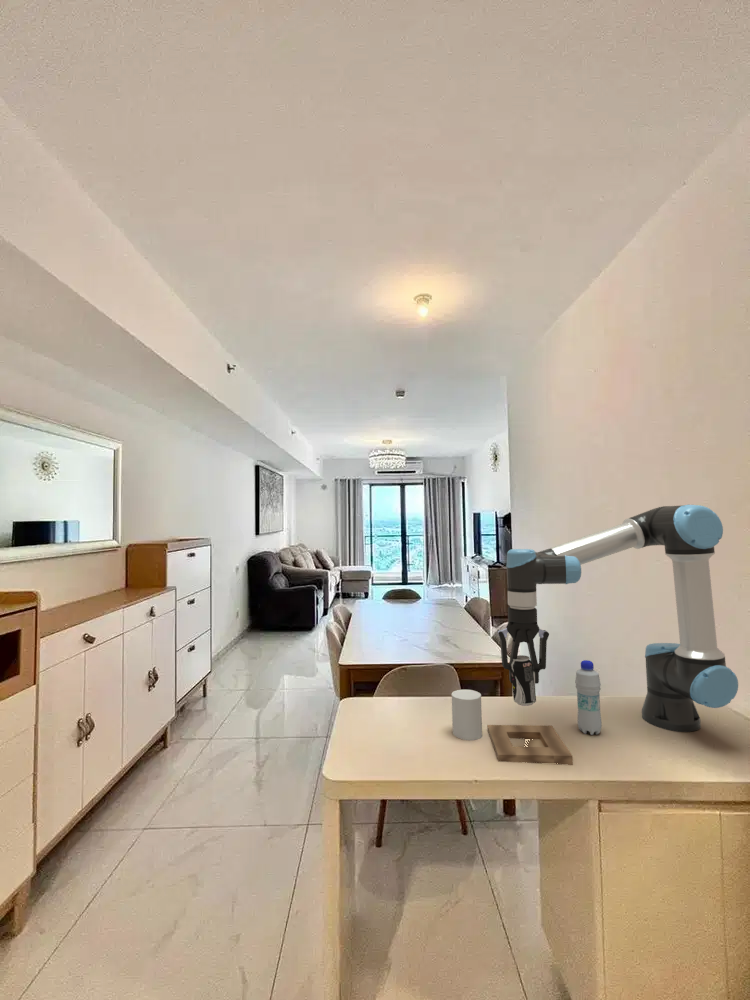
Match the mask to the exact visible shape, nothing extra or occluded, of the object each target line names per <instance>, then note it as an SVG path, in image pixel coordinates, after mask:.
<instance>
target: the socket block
mask: <svg viewBox="0 0 750 1000" xmlns="http://www.w3.org/2000/svg"><path fill="white" fill-rule="evenodd" d="M486 728H487V729H486V730H487V733H488V735H489V738H490V741H491V744H492V747H493V749H494V750H493V751H494V753H495V755H496V759H497V761H498V762H503V763H504V762H505V763H506V762H507V763H522V762H525V763H526V762H527V763H528V764H530V763H531V764H542V763H556V764H555V765H562V764H568V765H569V766H573V765H574V762H573V761H574V760H573V759H574V758H573V754H572V753H571V752H570V750H569V748H568V747H567V745H566V744H565V742H564V741H563V739H562V738H561V737H560V735H559V734H558V733H557V731H556V729H555V727H553V725H542V724H541V725H536V724H535V725H533V724H532V725H528V724H527V725H525V724H524V725H522V724H521V725H520V724H518V725H517V724H513V725H512V724H487V727H486ZM520 738H522V739H523V738H524V739H523V740H525V739H530V741H529V740H528V742H529V743H528V742H527V741H526V742H527V744H528V745H527V744H526V743H525V742H523V746H513V743H512V741H511V739H520ZM522 739H521V740H522ZM532 739H533V740H532ZM524 743H525V744H526V745H527V746H528V747H526V746H525V745H524ZM524 746H525V747H524ZM557 763H558V764H557Z"/></svg>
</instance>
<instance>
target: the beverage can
mask: <svg viewBox="0 0 750 1000" xmlns="http://www.w3.org/2000/svg"><path fill="white" fill-rule="evenodd" d="M510 666H511V669H512V671H511V675H512V683H511V684H512V696H513V702H514V703H516V704H517V705H519V706H522V707H529V706H533V704H535V703H536V702H537V696H536V683H535V684H534V675H533V664H532V662H531V659H530V656H528V655H522V654H521V655H520V654H519V655H517V659H513V662H512V664H511V663H510Z"/></svg>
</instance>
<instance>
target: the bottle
mask: <svg viewBox="0 0 750 1000" xmlns="http://www.w3.org/2000/svg"><path fill="white" fill-rule="evenodd" d="M600 680H601V679H600V674H599V672H598V671H596V670H595V669H594V663H593V662H592V661H591V660H588V659H587V660H586V659H585V660H584V659H583V660H581V662H580V668H579V669H578V670H576V671H575V688H576V693H577V694H576V697H577V726H578V730H579V731H580V732H582V733H583V734H585V735H586V734H587V733H589V734H590V735H591V736H593V735H594V734H595V735H599V734H600V732H601V730H602V726H603V725H602V715H601V698H600V697H601V696H600V691H602V690H601V689H602V688H601V686H602V685H601V681H600Z"/></svg>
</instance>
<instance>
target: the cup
mask: <svg viewBox="0 0 750 1000" xmlns="http://www.w3.org/2000/svg"><path fill="white" fill-rule="evenodd" d="M482 712H483V710H482V694H481V693H480V692H478V691H476V690H473V689H458V690H454V691H452V693H451V716H452V717H451V719H452V720H451V721H452V735H453V736H454V737H455V738H456V739H457V738H458V739H461V740H463V741H477V740H480V739H482V737H483V720H482V719H483V717H482V715H483V713H482Z"/></svg>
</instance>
